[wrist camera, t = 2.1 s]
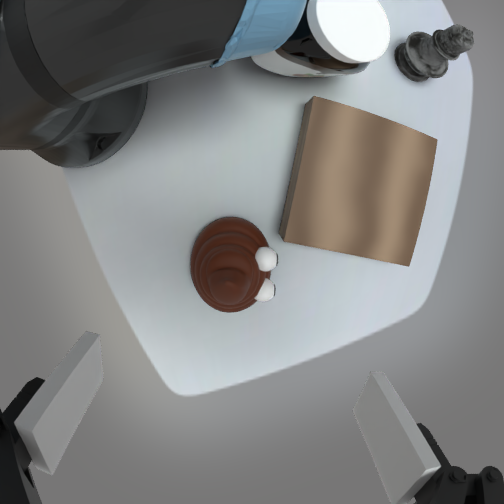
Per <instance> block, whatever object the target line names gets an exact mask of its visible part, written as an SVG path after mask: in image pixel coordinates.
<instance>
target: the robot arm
mask: <svg viewBox="0 0 504 504" xmlns="http://www.w3.org/2000/svg"><path fill="white" fill-rule="evenodd" d="M306 2H307V0H0V150H32V151H33V152H35V153H36V154H38V155H39V156H40V157H42V158H43V159H45V160H46V161H48V162H50V163H52V164H54V165H58V166H61V167H70V168H71V167H87V166H91V165H95V164H97V163H100V162H102V161H104V160H106V159H107V158H109V157H110V156H112V155H113V154H115V153H116V152H117V151H118V150H119V149H120V148H121V147H122V146H123V145H124V144H125V143H126V142H127V141H128V140H129V138H130V137H131V135H132V134H133V133H134V131H135V129H136V128H137V126H138V124H139V122H140V119H141V117H142V114H143V111H144V108H145V104H146V98H147V81H151V80H154V79H158V78H161V77H165V76H168V75H172V74H176V73H180V72H184V71H188V70H192V69H197V68H201V67H206V66H210V67H211V68H214V67H219V66H221V65H223V64H224V63H225V62H226V61H231V60H235V59H240V58H244V57H250V56H255V55H260V54H265V53H269V52H271V51H274V50H276V49H277V48H279V47H280V46H281V45H282V44H284V43H285V42H286V41H287V39H288V38H289V37H290V36H291V35H292V34H293V32H294V31H295V30H296V28H297V26H298V24H299V22H300V20H301V17H302V15H303V12H304V9H305V5H306ZM103 380H104V376H103V366H102V355H101V340H100V335H99V334H96V333H92V332H88V331H86V332H85V333H84V334H83V335H82V336H81V338H80V339H79V340H78V341H77V342H76V344H75V345H74V346H73V347H72V348H71V350H70V351H69V352H68V353H67V354H66V356H65V357H64V358H63V359H62V361H61V362H60V363H59V364H58V365H57V367H56V368H55V369H54V370H53V372H52V373H51V374H50V376H49V377H48V378H47V379H46V380H43V379H41V378H38V377H36V378H34V379H33V380H31V381H29V382H27V384H26V385H25V386H24V387H23V388H22V390H21V391H20V392H19V394H18V395H17V397H16V398H14V400H13V401H12V402H11V403H10V405H9V406H8V407H7V408H6V410H5V411H4V412H3V413H2V412H1V409H0V504H42V502H41V500H40V497H39V495H38V492H37V489H36V486H35V483H34V480H33V477H32V474H31V471H30V469H29V467H28V466H29V464H30V462H31V460H32V461H33V463H34V465H35V467H36V468H37V469H39V470H41V471H44V472H46V473H48V474H51V475H53V474H54V471H55V469H56V467H57V465H58V463H59V461H60V459H61V457H62V455H63V453H64V451H65V450H66V447H67V446H68V444H69V442H70V440H71V438H72V436H73V434H74V432H75V430H76V428H77V426H78V425H79V423H80V421H81V419H82V417H83V416H84V414H85V412H86V410H87V408H88V406H89V405H90V403H91V401H92V399H93V397H94V396H95V394H96V392H97V390H98V389H99V387H100V385H101V383H102V381H103ZM353 414H354V416H355V418H356V421H357V423H358V425H359V428H360V430H361V432H362V435H363V437H364V439H365V442H366V444H367V447H368V449H369V452H370V454H371V456H372V459H373V461H374V464H375V466H376V469H377V471H378V473H379V476H380V478H381V481H382V483H383V486H384V488H385V491H386V493H387V496H388V498H389V501H390V503H391V504H407V503H408V502H409V501H410V500H411V499H412V498H413V497H415V499H416V502H415V503H414V504H504V481H503V476H502V474H501V472H500V471H499V470H498V469H497V468H495V467H492V466H487V467H485V468H484V469H483V470H482V471H481V472H480V473H479V474H467V473H466V472H465V471H464V470H463V469H462V468H460V467H457V466H451V465H450V463H449V462H448V460H447V458H446V457H445V455H444V454H443V452H442V450H441V449H440V447H439V445H437V442H436V441H435V439H433V436H432V434H431V433H430V431H429V430H428V429H427V428H426V427H425V426H424V425H422V424H421V423H418V424H416V423H415V421H414V420H413V418H412V416H411V415H410V413H409V412H408V410H407V408H406V407H405V405H404V403H403V402H402V401H401V399H400V397H399V396H398V394H397V392H396V391H395V389H394V388H393V386H392V385H391V383H390V381H389V380H388V378H387V377H386V375H385V374H384V372H375V371H371V372H370V374H369V376H368V378H367V381H366V383H365V385H364V388H363V390H362V392H361V394H360V396H359V398H358V400H357V403H356V405H355V407H354V409H353Z"/></svg>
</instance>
